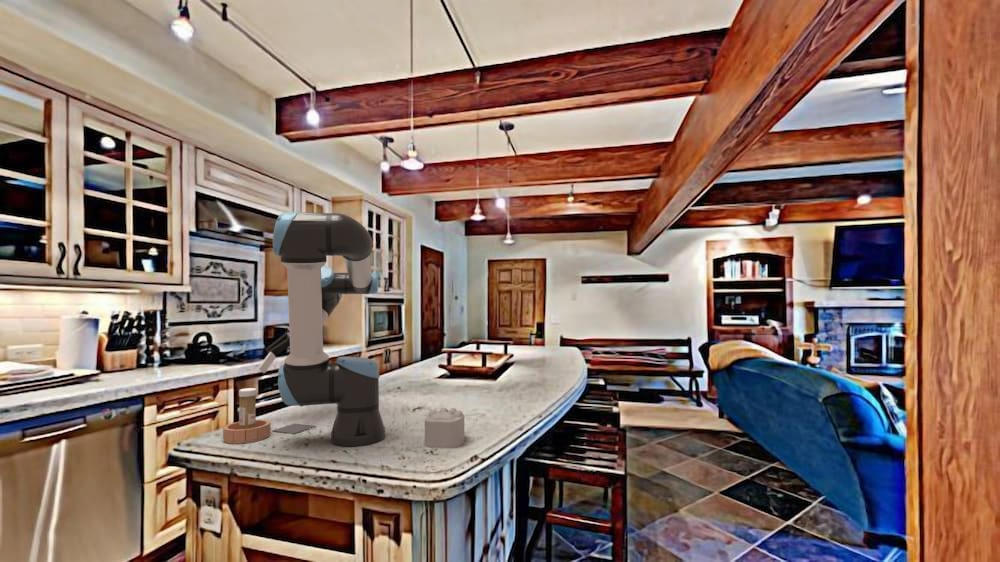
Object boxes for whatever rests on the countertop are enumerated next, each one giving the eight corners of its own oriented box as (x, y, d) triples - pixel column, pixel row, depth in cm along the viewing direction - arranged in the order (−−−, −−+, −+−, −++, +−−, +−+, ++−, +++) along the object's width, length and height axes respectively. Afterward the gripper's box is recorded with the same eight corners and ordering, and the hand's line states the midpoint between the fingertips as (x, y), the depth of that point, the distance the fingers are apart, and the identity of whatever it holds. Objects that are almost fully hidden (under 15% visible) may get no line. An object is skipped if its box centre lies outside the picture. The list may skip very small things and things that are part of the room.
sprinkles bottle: (256, 435, 138) (257, 389, 139) (238, 438, 136) (239, 391, 137) (254, 432, 142) (255, 387, 143) (237, 434, 140) (238, 388, 140)
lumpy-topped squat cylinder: (421, 447, 128) (420, 415, 128) (434, 434, 141) (434, 404, 141) (458, 448, 126) (458, 416, 127) (468, 435, 139) (468, 405, 140)
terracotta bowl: (278, 434, 142) (279, 421, 143) (244, 445, 131) (244, 432, 131) (249, 430, 147) (249, 418, 147) (213, 441, 136) (213, 428, 136)
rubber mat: (316, 426, 151) (316, 425, 151) (294, 434, 142) (294, 433, 142) (294, 424, 154) (294, 423, 154) (271, 431, 145) (271, 430, 145)
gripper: (346, 329, 162) (314, 380, 148) (290, 328, 171) (255, 376, 157) (336, 314, 158) (302, 365, 143) (278, 314, 167) (241, 362, 152)
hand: (277, 371), depth 150 cm, fingers open, 13 cm apart
